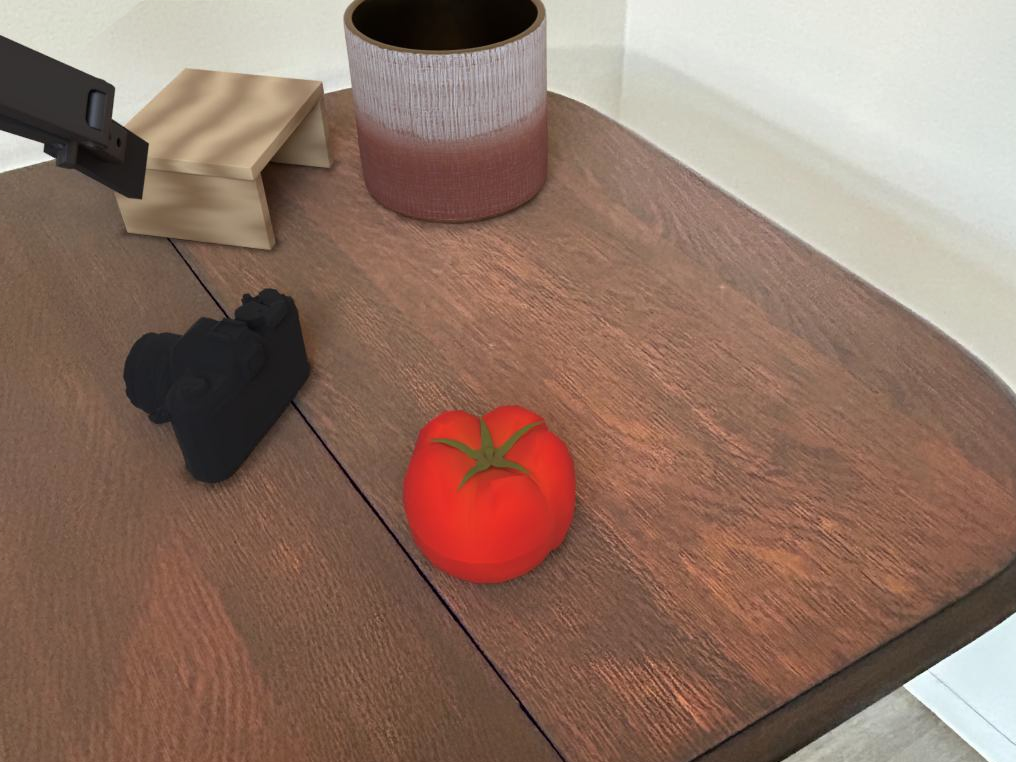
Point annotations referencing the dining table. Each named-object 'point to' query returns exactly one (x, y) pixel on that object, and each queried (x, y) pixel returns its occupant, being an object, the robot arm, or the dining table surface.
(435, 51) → the planter
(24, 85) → the robot arm
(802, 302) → the dining table surface
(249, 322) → the film camera
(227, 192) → the shelf
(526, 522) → the tomato
